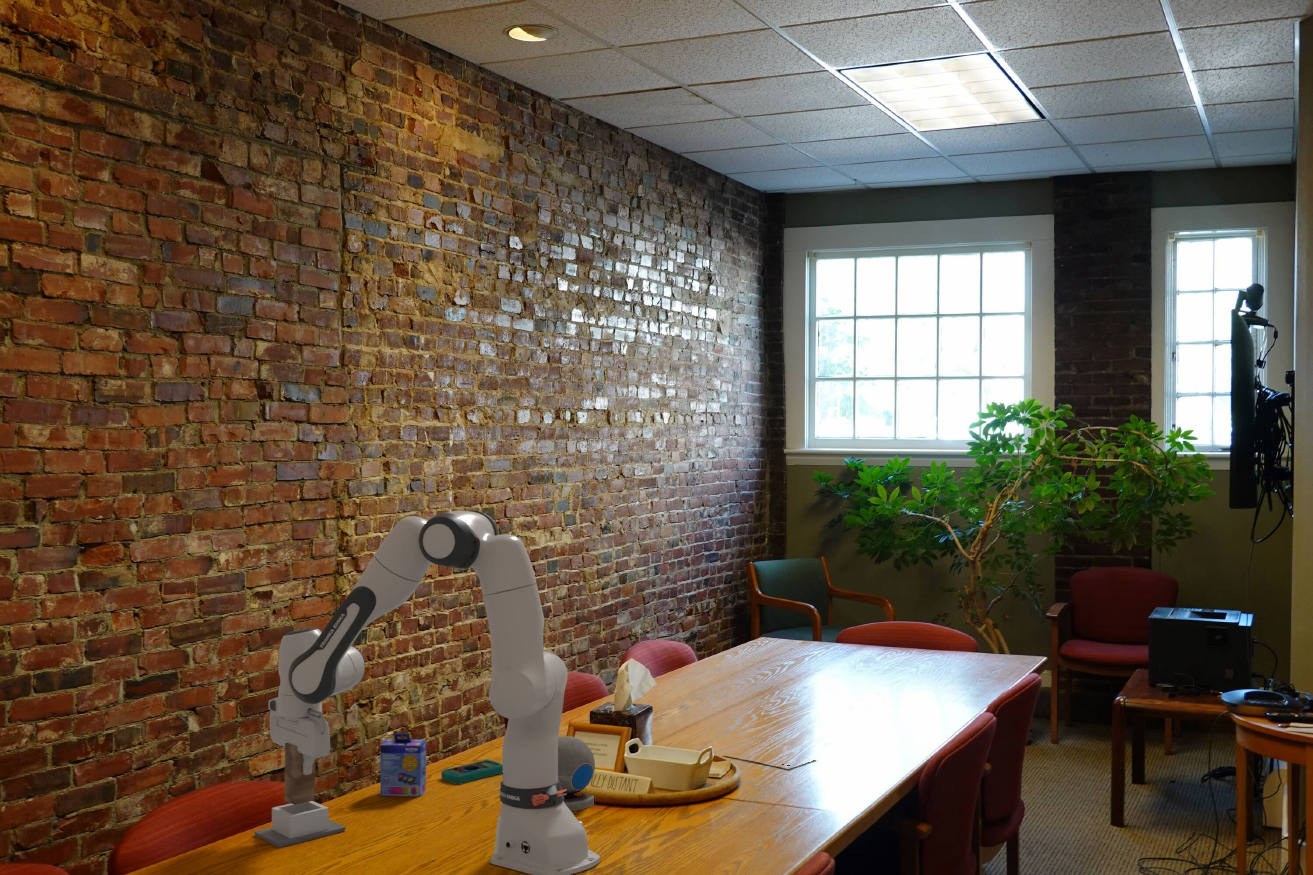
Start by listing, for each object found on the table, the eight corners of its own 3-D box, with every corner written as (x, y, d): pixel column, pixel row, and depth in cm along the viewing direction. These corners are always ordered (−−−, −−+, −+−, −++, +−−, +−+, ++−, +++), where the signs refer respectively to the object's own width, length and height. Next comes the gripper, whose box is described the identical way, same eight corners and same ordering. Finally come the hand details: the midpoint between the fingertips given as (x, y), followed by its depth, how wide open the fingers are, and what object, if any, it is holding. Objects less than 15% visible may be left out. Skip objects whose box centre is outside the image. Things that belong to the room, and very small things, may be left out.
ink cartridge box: (379, 796, 268) (379, 734, 269) (385, 790, 274) (385, 728, 274) (421, 797, 268) (421, 734, 268) (426, 790, 274) (426, 729, 274)
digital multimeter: (438, 780, 283) (438, 769, 283) (487, 769, 294) (487, 757, 294) (456, 787, 278) (456, 774, 278) (505, 774, 288) (505, 763, 289)
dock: (345, 830, 244) (345, 805, 244) (278, 847, 233) (278, 821, 233) (320, 819, 252) (320, 795, 252) (254, 835, 241) (254, 809, 241)
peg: (314, 800, 242) (315, 743, 243) (294, 804, 239) (295, 746, 240) (304, 795, 246) (304, 739, 246) (284, 800, 243) (285, 742, 243)
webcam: (570, 791, 272) (570, 727, 273) (606, 802, 263) (606, 736, 264) (527, 802, 263) (527, 736, 264) (563, 814, 254) (562, 746, 254)
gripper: (338, 710, 238) (337, 777, 237) (292, 696, 252) (291, 759, 252) (309, 715, 233) (309, 783, 233) (264, 700, 248) (264, 764, 248)
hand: (299, 771), depth 243 cm, fingers closed on peg, 4 cm apart
